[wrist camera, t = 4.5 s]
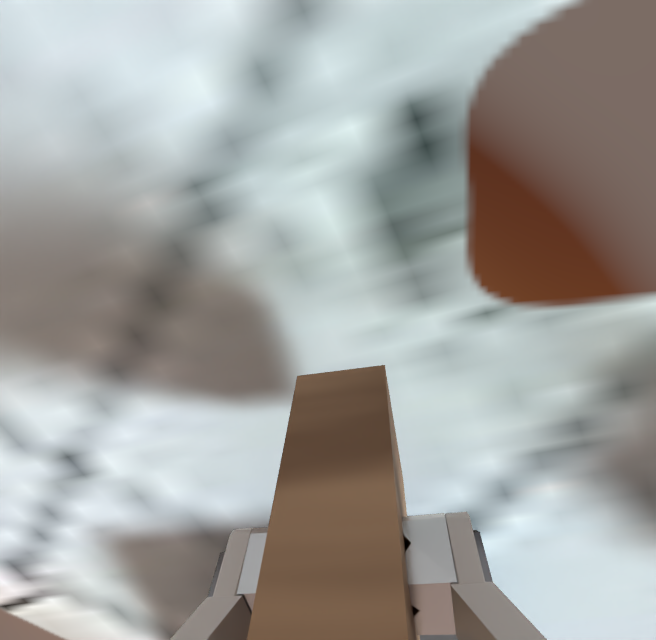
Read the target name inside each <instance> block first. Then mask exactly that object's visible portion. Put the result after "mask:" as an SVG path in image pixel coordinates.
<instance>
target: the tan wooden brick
mask: <svg viewBox="0 0 656 640" xmlns="http://www.w3.org/2000/svg"><path fill="white" fill-rule="evenodd" d="M405 516H407V512H406V503H405V493H404V484H403V476H402V470H401V464H400V458H399V451H398V445H397V439H396V433H395V427H394V420H393V414H392V408H391V402H390V395H389V389H388V383H387V377H386V371H385V365H381V366H373V367H365V368H357V369H349V370H341V371H333V372H325V373H317V374H309V375H301V376H297V380H296V386H295V391H294V396H293V401H292V407H291V412H290V417H289V422H288V427H287V433H286V438H285V443H284V448H283V453H282V459H281V464H280V469H279V474H278V479H277V485H276V490H275V495H274V500H273V506H272V511H271V516H270V521H269V526H268V532H267V537H266V542H265V547H264V552H263V558H262V563H261V568H260V573H259V578H258V584H257V589H256V594H255V599H254V605H253V610H252V615H251V620H250V625H249V631H248V636H247V640H420V635H417V632H416V627H415V621H414V615H413V606H412V605H411V599H410V594H409V588H408V581H407V570H406V560H405V552H406V548H405V542H404V537H403V528H402V517H405Z"/></svg>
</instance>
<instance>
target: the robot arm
mask: <svg viewBox="0 0 656 640" xmlns="http://www.w3.org/2000/svg"><path fill="white" fill-rule="evenodd" d="M402 528H403V537H404V542H405V548H406V552H405V560H406V570H407V581H408V588H409V594H410V599H411V605H412V606H413V615H414V621H415V627H416V632H417V635H456V637H457V638H458V640H547V639H546V638H545V637H544V636H543V635H542V634H541V633H540V632H539V631H538V630H537V629H536V628H535V627H534V625H533V624H532V623H531V622H530V621H529V620H528V619H527V618H526V617H525V616H524V615H523V614H522V613H521V612H520V611H519V609H518V608H517V607H516V606H515V605H514V604H513V603H512V602H511V601H510V600H509V599H508V598H507V597H506V596H505V595H504V593H503V592H502V591H501V590H500V589H499V588H498V587H497V586H496V585H495V584H494V583H493V582H485V578H484V574H483V570H482V566H481V562H480V558H479V553H478V549H477V545H476V541H475V537H474V533H473V529H472V524H471V520H470V516H469V514H468V513H467V512H457V513H446V514H444V513H438V514H427V515H416V516H405V517H402ZM267 532H268V527H262V528H244V529H234V530H233V531H232V533H231V534H230V536H229V539H228V543H227V547H226V550H225V554H224V558H223V561H222V565H221V569H220V572H219V576H218V579H217V583H216V587H215V590H214V594H213V597H207V598H206V599H205V600H204V601H203V602H202V603H201V604H200V606H199V607H198V608H197V609H196V610H195V611H194V612H193V614H192V615H191V616H190V617H189V618H188V619H187V620H186V622H185V623H184V624H183V625H182V626H181V627H180V628H179V630H178V631H177V632H176V633H175V634H174V635H173V636H172V638H171V639H170V640H247V636H248V631H249V625H250V620H251V615H252V610H253V605H254V599H255V594H256V589H257V584H258V578H259V573H260V568H261V563H262V558H263V552H264V547H265V542H266V537H267Z"/></svg>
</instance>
